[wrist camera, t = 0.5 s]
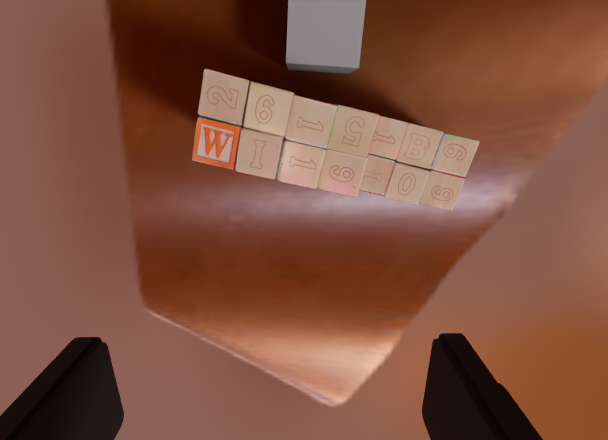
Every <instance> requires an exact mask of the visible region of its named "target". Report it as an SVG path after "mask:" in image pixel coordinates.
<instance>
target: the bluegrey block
mask: <svg viewBox="0 0 608 440" xmlns="http://www.w3.org/2000/svg"><path fill="white" fill-rule="evenodd" d="M365 5H366V0H288V23H287V48H286V65H287V68H288V70H299V71H314V72H328V73H343V74H349V73H351V72H353V71H354V70H356V69H358V68H359V62H360V52H361V43H362V34H363V24H364V15H365Z"/></svg>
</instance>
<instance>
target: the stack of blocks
mask: <svg viewBox="0 0 608 440" xmlns="http://www.w3.org/2000/svg"><path fill="white" fill-rule="evenodd" d="M198 114H199V115H200V116H199V117H198V119H197V124H196V132H195V139H194V147H193V155H192V160H193V161H198V162H202V163H206V164H211V165H215V166H219V167H224V168H228V169H235V170H236V171H237V172H242V173H246V174H251V175H256V176H261V177H266V178H271V179H277V180H278V181H280V182H284V183H289V184H294V185H298V186H303V187H308V188H313V189H316V188H318V189H320V190H324V191H329V192H334V193H338V194H343V195H348V196H353V197H357V195H358V191H359V190H361V191H365V192H370V193H374V194H378V195H382V196H384V197H386V198H390V199H394V200H398V201H402V202H406V203H411V204H415V205H418V204H421V205H425V206H429V207H434V208H438V209H442V210H446V211H452V210H453V207H454V205H455V202H456V200H457V197H458V195H459V192H460V190H461V188H462V186H463V183H464V181H465V176H466V174H467V172H468V169H469V167H470V164H471V162H472V159H473V157H474V154H475V152H476V150H477V147H478V145H479V141H477V140H473V139H469V138H465V137H460V136H457V135H453V134H448V133H444V132H442V131H439V130H435V129H431V128H427V127H423V126H419V125H415V124H411V123H407V122H404V121H400V120H396V119H392V118H387V117H383V116H379V114H375V113H371V112H367V111H363V110H359V109H355V108H350V107H346V106H342V105H336V104H329V103H325V102H321V101H317V100H313V99H309V98H305V97H301V96H297V95H295V93H293V92H290V91H286V90H282V89H279V88H275V87H271V86H267V85H263V84H260V83H256V82H252V81H249V80H246V79H243V78H239V77H235V76H232V75H228V74H224V73H221V72H217V71H213V70H210V69H204V74H203V81H202V88H201V95H200V101H199V108H198Z"/></svg>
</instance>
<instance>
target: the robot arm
mask: <svg viewBox="0 0 608 440" xmlns="http://www.w3.org/2000/svg"><path fill="white" fill-rule="evenodd" d="M422 415H423V420H424V423H425V426H426V428H427V431H428V433H429V436H430V438H431V440H543V439H542V438H541V437H540V435H539V434H538V432H537V431H536V430H535V428H534V427H533V426H532V424H531V423H530V422H529V420H528V419H527V417H526V416H525V415H524V413H523V412H522V411H521V409H520V408H519V406H518V405H517V403H516V402H515V401H514V399H513V398H512V397H511V395H510V394H509V392H508V391H507V390H506V389H505V388H504V387H503V385H501V384H499V383H497V381H496V380H495V379H494V377H493V376H492V374H491V373H490V372H489V370H488V369H487V367H486V366H485V365H484V363H483V362H482V360H481V359H480V357H479V356H478V355H477V353H476V352H475V351H474V349H473V348H472V346H471V345H470V343H469V342H468V340H467V339H466V338H465V336H464V335H463V334H461V333H451V334H450V333H446V334H440V335H439V338H438V339H434V340H433V343H432V349H431V356H430V363H429V368H428V375H427V381H426V387H425V394H424V400H423V406H422ZM123 418H124V412H123V408H122V404H121V399H120V395H119V391H118V387H117V383H116V379H115V375H114V371H113V367H112V363H111V358H110V354H109V350H108V346H107V344H106V343H103V342H102V340H101V339H100V338H99V337H78V338H75V339H73V340H72V341H71V342H70V343H69V344H68V345H67V346H66V347H65V349H64V350H63V351H62V352H61V353H60V354H59V355H58V356H57V357H56V358H55V359H54V360H53V361H52V362H51V363H50V364H49V365H48V366H47V367H46V368H45V369H44V370H43V372H42V373H41V374H40V375H39V376H38V377H37V378H36V379H35V380H34V381H33V382H32V383H31V384H30V385H29V387H27V388H26V389H25V390H24V392H23V393H22V394H21V395H20V396H19V397H18V398H17V399H16V400H15V401H14V402H13V403H12V404H11V405H10V406H9V407H8V408H7V410H6V411H5V412H4V413H3V414H2V415H1V416H0V440H114V438H115V437H116V435H117V433H118V431H119V429H120V427H121V425H122V422H123Z"/></svg>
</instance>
